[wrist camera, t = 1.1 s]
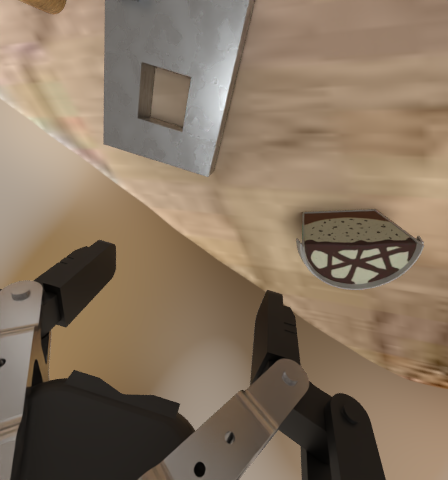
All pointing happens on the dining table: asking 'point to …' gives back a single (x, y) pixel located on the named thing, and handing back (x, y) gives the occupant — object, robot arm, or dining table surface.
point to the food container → (356, 248)
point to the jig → (175, 60)
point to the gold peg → (47, 5)
